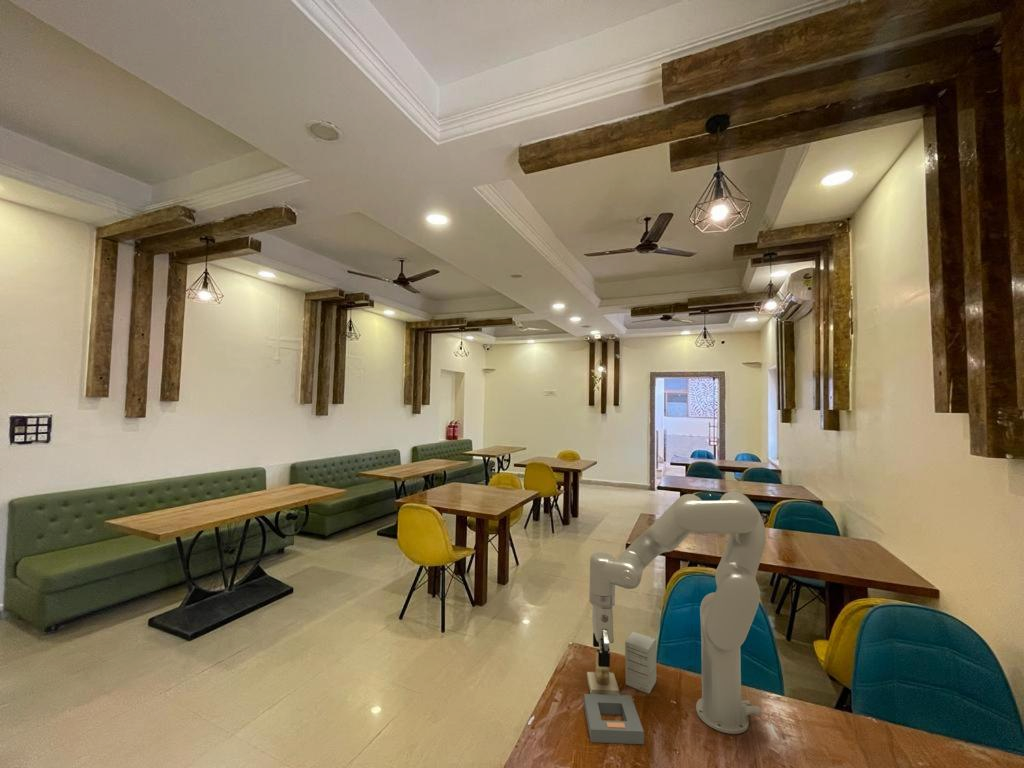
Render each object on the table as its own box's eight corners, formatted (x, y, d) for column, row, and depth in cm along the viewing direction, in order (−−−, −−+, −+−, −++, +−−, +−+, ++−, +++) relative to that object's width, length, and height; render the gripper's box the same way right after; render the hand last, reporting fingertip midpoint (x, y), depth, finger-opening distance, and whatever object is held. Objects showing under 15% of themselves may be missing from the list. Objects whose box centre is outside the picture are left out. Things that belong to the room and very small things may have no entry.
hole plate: (631, 706, 116) (631, 694, 117) (643, 744, 103) (643, 730, 104) (583, 705, 117) (583, 693, 117) (590, 742, 104) (590, 728, 104)
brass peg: (608, 676, 126) (608, 649, 127) (610, 685, 122) (610, 657, 123) (594, 676, 126) (594, 648, 127) (596, 685, 122) (596, 656, 123)
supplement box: (633, 672, 132) (633, 630, 132) (657, 681, 127) (656, 638, 128) (624, 684, 126) (624, 641, 126) (649, 694, 121) (649, 649, 122)
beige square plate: (613, 679, 128) (613, 672, 128) (619, 697, 120) (619, 690, 120) (587, 678, 128) (587, 672, 128) (591, 696, 120) (591, 689, 120)
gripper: (621, 611, 117) (620, 675, 116) (609, 585, 134) (608, 640, 133) (593, 610, 117) (592, 674, 116) (585, 584, 134) (584, 639, 134)
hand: (601, 656), depth 125 cm, fingers open, 9 cm apart
